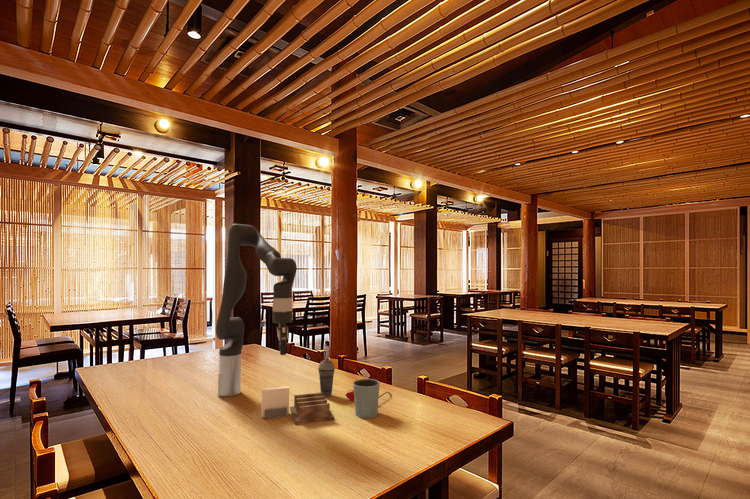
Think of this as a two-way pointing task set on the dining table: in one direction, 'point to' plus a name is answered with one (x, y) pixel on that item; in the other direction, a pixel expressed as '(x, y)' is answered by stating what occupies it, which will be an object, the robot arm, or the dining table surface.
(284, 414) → the plate stand
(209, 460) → the dining table surface
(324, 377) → the beverage cup
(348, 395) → the glasses
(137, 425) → the dining table surface
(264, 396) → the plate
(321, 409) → the dish rack
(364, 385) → the grey green cup
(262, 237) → the robot arm
